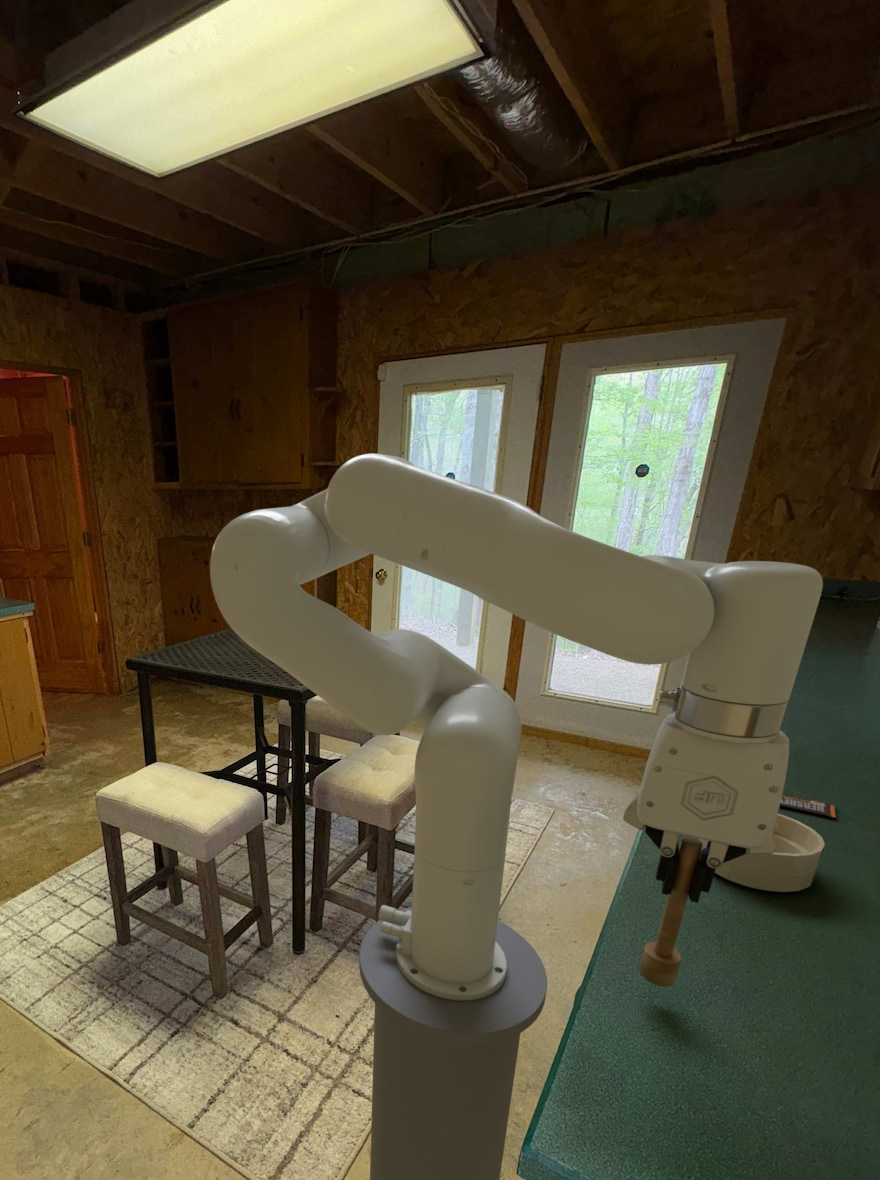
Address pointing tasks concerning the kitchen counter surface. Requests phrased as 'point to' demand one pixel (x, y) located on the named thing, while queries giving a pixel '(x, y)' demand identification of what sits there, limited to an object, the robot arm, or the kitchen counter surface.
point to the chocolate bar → (807, 806)
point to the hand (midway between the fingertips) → (679, 889)
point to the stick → (671, 921)
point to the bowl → (779, 860)
